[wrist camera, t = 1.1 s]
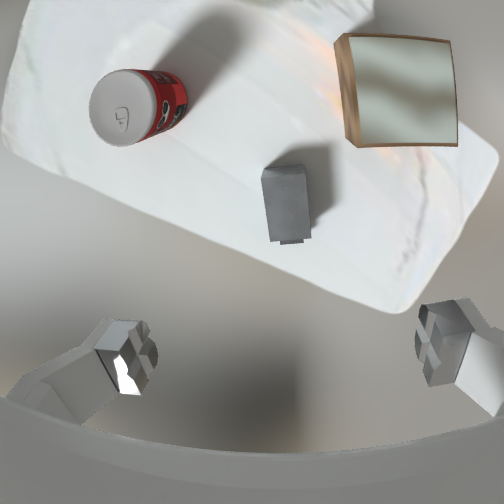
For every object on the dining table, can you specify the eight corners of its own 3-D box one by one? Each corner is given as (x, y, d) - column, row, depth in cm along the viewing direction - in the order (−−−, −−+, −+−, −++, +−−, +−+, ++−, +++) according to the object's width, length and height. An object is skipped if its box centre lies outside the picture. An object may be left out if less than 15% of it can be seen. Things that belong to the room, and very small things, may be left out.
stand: (333, 43, 30) (344, 32, 23) (425, 46, 28) (452, 40, 21) (345, 137, 35) (358, 149, 29) (433, 136, 33) (460, 147, 27)
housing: (263, 168, 39) (260, 178, 35) (303, 164, 38) (305, 173, 34) (273, 237, 43) (271, 253, 39) (310, 234, 42) (312, 249, 38)
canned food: (147, 139, 38) (104, 159, 29) (126, 87, 35) (78, 92, 25) (198, 117, 36) (166, 128, 27) (176, 62, 33) (137, 55, 23)
